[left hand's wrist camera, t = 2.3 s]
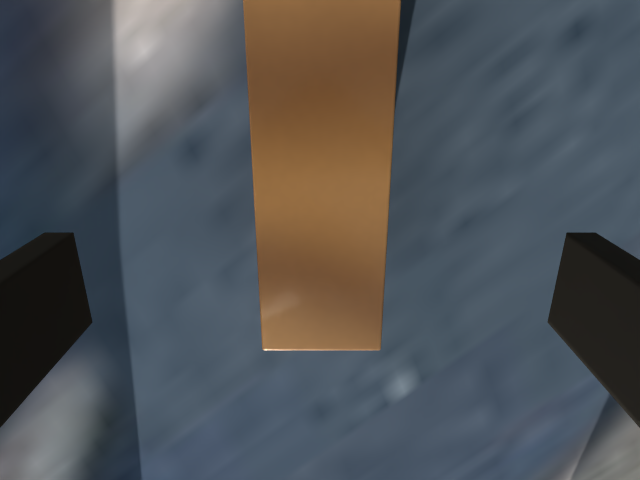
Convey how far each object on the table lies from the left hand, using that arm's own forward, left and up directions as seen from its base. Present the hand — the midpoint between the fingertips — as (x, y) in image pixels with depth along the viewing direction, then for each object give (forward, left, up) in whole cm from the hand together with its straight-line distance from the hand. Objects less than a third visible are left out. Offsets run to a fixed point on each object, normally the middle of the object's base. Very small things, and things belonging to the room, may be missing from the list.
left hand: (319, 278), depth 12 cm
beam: (+14, +15, -12) cm, 23 cm away
